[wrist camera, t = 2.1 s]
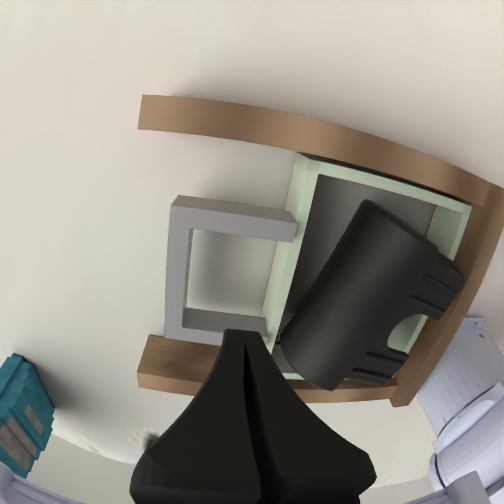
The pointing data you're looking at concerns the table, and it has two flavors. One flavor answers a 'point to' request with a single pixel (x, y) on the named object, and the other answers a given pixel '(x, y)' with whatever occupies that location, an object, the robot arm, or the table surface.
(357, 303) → the end cap
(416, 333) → the pull tray
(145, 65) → the table surface
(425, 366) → the brown wooden frame
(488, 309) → the table surface
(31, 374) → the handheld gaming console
